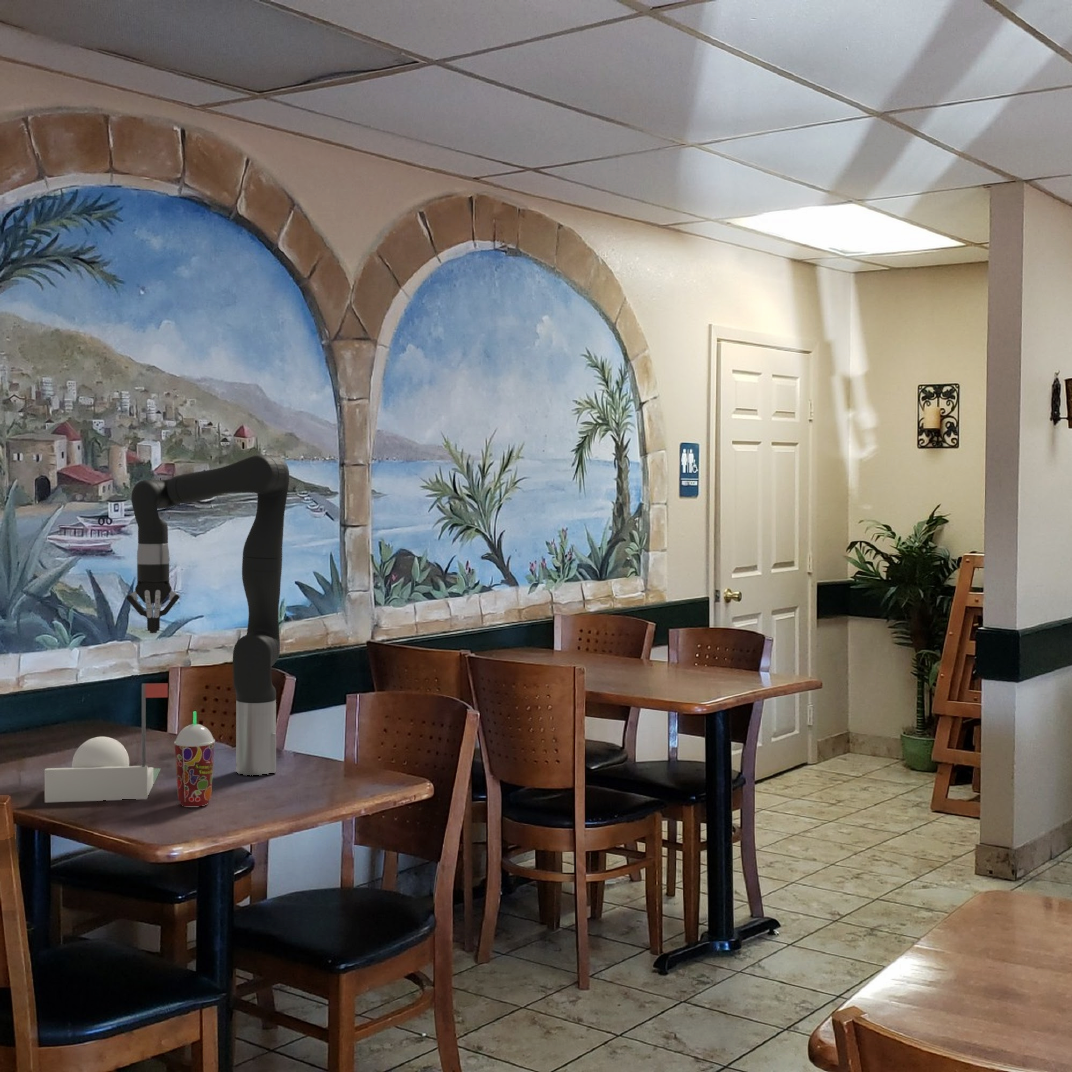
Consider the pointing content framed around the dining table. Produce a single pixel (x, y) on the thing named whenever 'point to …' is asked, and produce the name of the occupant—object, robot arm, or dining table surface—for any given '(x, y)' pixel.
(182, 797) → the smoothie
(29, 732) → the dining table surface
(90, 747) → the ball
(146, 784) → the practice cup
